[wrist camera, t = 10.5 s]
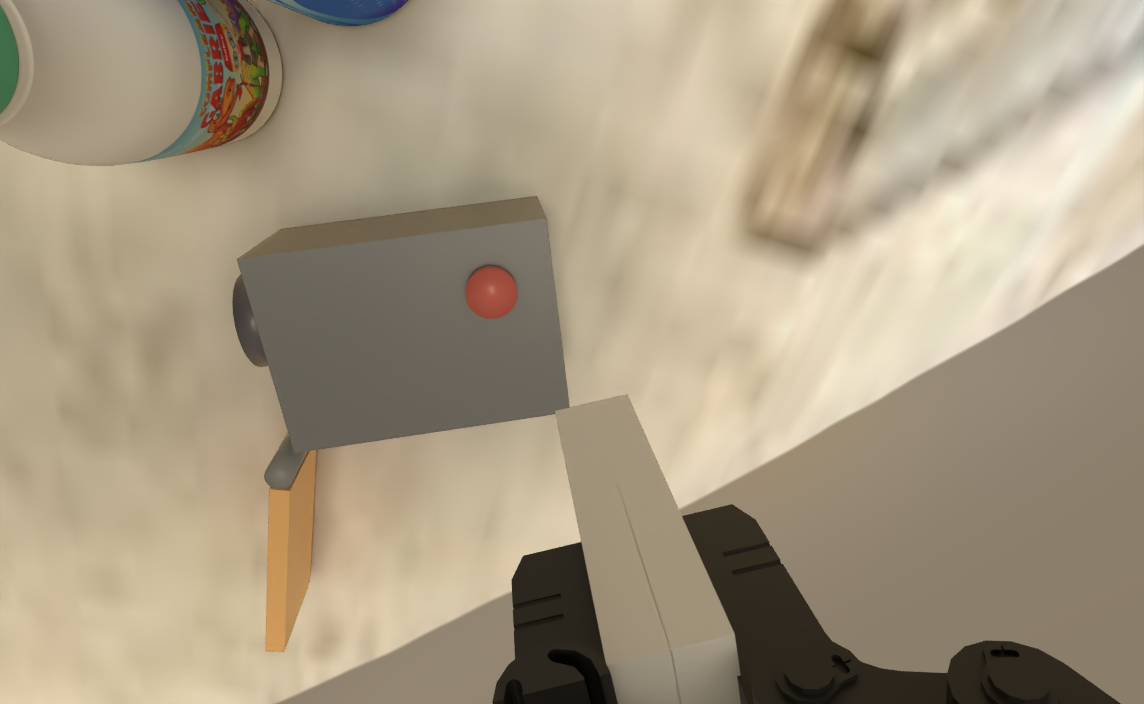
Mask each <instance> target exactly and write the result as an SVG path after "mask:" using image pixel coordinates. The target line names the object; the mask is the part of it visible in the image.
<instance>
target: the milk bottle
mask: <svg viewBox="0 0 1144 704" xmlns="http://www.w3.org/2000/svg"><path fill="white" fill-rule="evenodd" d="M281 87H282V64H281V58H280V54H279V50H278V47H277V44H276V41H275V39H274V36H273V34H272V32H271V30H270V29H269V27H268V25H267V24H266V22H265V21H264V19H263V18H262V16H261V15H260V14H259V13H258V11H257V10H256V9H255V8H254V7H253V6H252V5H251V4H250V3H249V2H248V1H247V0H0V140H1V141H3V142H5V143H7V144H9V145H11V146H13V147H15V148H18V149H20V150H22V151H25V152H28V153H31V154H33V155H36V156H39V157H42V158H46V159H50V160H54V161H59V162H64V163H69V164H75V165H90V166H113V165H121V164H130V163H138V162H145V161H150V160H155V159H161V158H166V157H171V156H176V155H181V154H185V153H190V152H195V151H199V150H204V149H208V148H213V147H217V146H222V145H226V144H230V143H233V142H236V141H239V140H242V139H244V138H246V137H248V136H250V135H251V134H253V133H254V132H256V131H257V130H258V129H260V128H261V127H262V126H263V125H264V124H265V123H266V121H267V120H268V119H269V118H270V116H271V114H272V113H273V111H274V109H275V107H276V105H277V102H278V100H279V96H280V92H281Z"/></svg>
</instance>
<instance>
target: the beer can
mask: <svg viewBox="0 0 1144 704" xmlns="http://www.w3.org/2000/svg"><path fill="white" fill-rule="evenodd" d="M268 1H271V2H273V3H276V4H279V5H281V6H284V7H286V8H289V9H291V10H294V11H296V12H299V13H302V14H304V15H307V16H309V17H312V18H314V19H317V20H319V21H323V22H326V23H330V24H335V25H342V26H358V25H365V24H369V23H373V22H376V21H379V20H381V19H383V18H385V17H388V16H389V15H391V14H392V13H394V12H396V11H397V10H398V9H399V8H401V7H402V6H403V5H404V4H405V3H406V2H407V1H408V0H268Z"/></svg>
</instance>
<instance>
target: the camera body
mask: <svg viewBox="0 0 1144 704" xmlns="http://www.w3.org/2000/svg"><path fill="white" fill-rule="evenodd" d="M237 261H238V264H239V268H240V271H241V275H240V276H239V277H238V278H237V280H236V283H235V286H234V290H233V316H234V322H235V327H236V331H237V335H238V338H239V341H240V344H241V346H242V348H243V350H244V352H245V354H246V356H247V357H248V359H249V360H250V361H251V362H252V363H253V364H254V365H256V366H258V367H263V366H269V369H270V372H271V376H272V379H273V382H274V386H275V389H276V392H277V396H278V399H279V402H280V406H281V409H282V413H283V416H284V419H285V423H286V426H287V429H288V433H289V436H290V440H291V443H292V446H293V450H294V453H298V452H305V451H311V450H318V449H325V448H331V447H338V446H345V445H352V444H358V443H365V442H372V441H378V440H385V439H392V438H398V437H405V436H412V435H418V434H425V433H432V432H439V431H445V430H452V429H459V428H465V427H472V426H479V425H485V424H492V423H499V422H506V421H512V420H519V419H526V418H532V417H539V416H546V415H552V414H555V411H557V410H561V409H566V408H570V407H569V398H568V390H567V382H566V374H565V366H564V358H563V350H562V342H561V334H560V325H559V317H558V309H557V301H556V293H555V285H554V277H553V269H552V261H551V252H550V244H549V236H548V228H547V220H546V217H545V214H544V212H543V210H542V207H541V205H540V203H539V201H538V198H537V196H535V197H527V198H519V199H512V200H504V201H496V202H488V203H481V204H473V205H465V206H457V207H449V208H442V209H434V210H426V211H418V212H411V213H403V214H395V215H387V216H379V217H372V218H364V219H356V220H348V221H341V222H333V223H325V224H317V225H310V226H302V227H294V228H286V229H280V230H279V231H278V232H276V233H275V234H273V235H272V236H270V237H269V238H267V239H266V240H264V241H263V242H261V243H260V244H258V245H257V246H255V247H254V248H253V249H251V250H250V251H248V252H247V253H245V254H244V255H242V256H241V257H239V258H238V259H237Z"/></svg>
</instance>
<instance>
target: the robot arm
mask: <svg viewBox="0 0 1144 704" xmlns="http://www.w3.org/2000/svg"><path fill="white" fill-rule="evenodd" d="M555 414H556V419H557V424H558V429H559V434H560V439H561V444H562V448H563V453H564V458H565V463H566V468H567V473H568V478H569V483H570V488H571V493H572V498H573V503H574V508H575V513H576V518H577V523H578V528H579V533H580V538H581V542H580V543H576V544H571V545H567V546H563V547H559V548H555V549H550V550H546V551H542V552H538V553H533V554H529V555H525V556H523V557H522V559H521V562H520V564H519V566H518V568H517V570H516V572H515V574H514V576H513V578H512V596H513V597H512V598H513V608H514V610H513V621H514V629H515V631H514V643H515V660H514V661H513V662H511V663H510V664H509V665H508V666H507V668H506V670H505V671H504V672H503V674H502V675H501V677H500V678H499V680H498V682H497V684H496V689H495V694H494V698H493V704H1120V703H1119V702H1118V701H1116V700H1115V699H1113V698H1112V697H1111V696H1109V695H1108V694H1106V693H1105V692H1104V691H1102V690H1101V689H1099V688H1098V687H1096V686H1095V685H1094V684H1092V683H1091V682H1089V681H1088V680H1086V679H1085V678H1084V677H1083V676H1081V675H1080V674H1078V673H1077V672H1076V671H1074V670H1073V669H1071V668H1070V667H1069V666H1067V665H1066V664H1064V663H1063V662H1061V661H1059V660H1057V659H1055V658H1054V657H1052V656H1050V655H1048V654H1046V653H1045V652H1043V651H1041V650H1039V649H1036V648H1032V647H1029V646H1025V645H1022V644H1018V643H1015V642H1009V641H983V642H980V643H976V644H973V645H969V646H965V647H964V648H963V649H962V650H961V651H959V652H958V653H957V654H956V655H955V656H954V657H953V658H952V659H951V662H950V666H949V669H948V673H928V672H927V673H926V672H906V671H905V672H904V671H895V670H888V669H881V668H878V667H875V666H872V665H869V664H866V663H863V662H861V661H859V660H858V659H857V658H856V657H855V656H854V655H853V654H852V653H851V651H849V650H847V649H845V648H843V647H842V646H840V645H838V644H836V643H834V642H832V641H831V639H830V638H829V637H828V636H827V634H826V633H825V632H824V630H823V629H822V627H821V625H820V624H819V622H818V620H817V619H816V617H815V616H814V614H813V612H812V611H811V609H810V608H809V606H808V604H807V603H806V601H805V600H804V598H803V596H802V594H801V593H800V591H799V590H798V588H797V586H796V585H795V583H794V581H793V580H792V578H791V577H790V575H789V573H788V572H787V570H786V568H785V567H784V565H783V564H781V562H780V559H779V557H778V556H777V554H776V552H775V551H774V549H773V547H772V546H770V544H769V541H768V539H767V538H766V536H765V534H764V533H763V531H762V529H761V528H760V526H759V525H758V523H757V521H756V520H755V519H754V518H752V517H751V516H749V515H747V514H746V513H744V512H743V511H741V510H740V509H738V508H737V507H735V506H734V505H732V504H731V505H728V506H723V507H719V508H714V509H711V510H706V511H702V512H698V513H694V514H689V515H685V516H682V515H681V514H680V511H679V509H678V507H677V504H676V502H675V500H674V498H673V495H672V493H671V491H670V489H669V486H668V484H667V482H666V480H665V478H664V475H663V473H662V471H661V469H660V466H659V464H658V462H657V460H656V457H655V455H654V453H653V451H652V449H651V446H650V444H649V442H648V440H647V437H646V435H645V433H644V431H643V428H642V426H641V424H640V422H639V420H638V417H637V415H636V413H635V411H634V408H633V406H632V404H631V402H630V399H629V397H628V395H627V394H626V395H622V396H618V397H613V398H609V399H605V400H600V401H596V402H592V403H587V404H583V405H579V406H574V407H570V408H566V409H561V410H557V411H555Z"/></svg>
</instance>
